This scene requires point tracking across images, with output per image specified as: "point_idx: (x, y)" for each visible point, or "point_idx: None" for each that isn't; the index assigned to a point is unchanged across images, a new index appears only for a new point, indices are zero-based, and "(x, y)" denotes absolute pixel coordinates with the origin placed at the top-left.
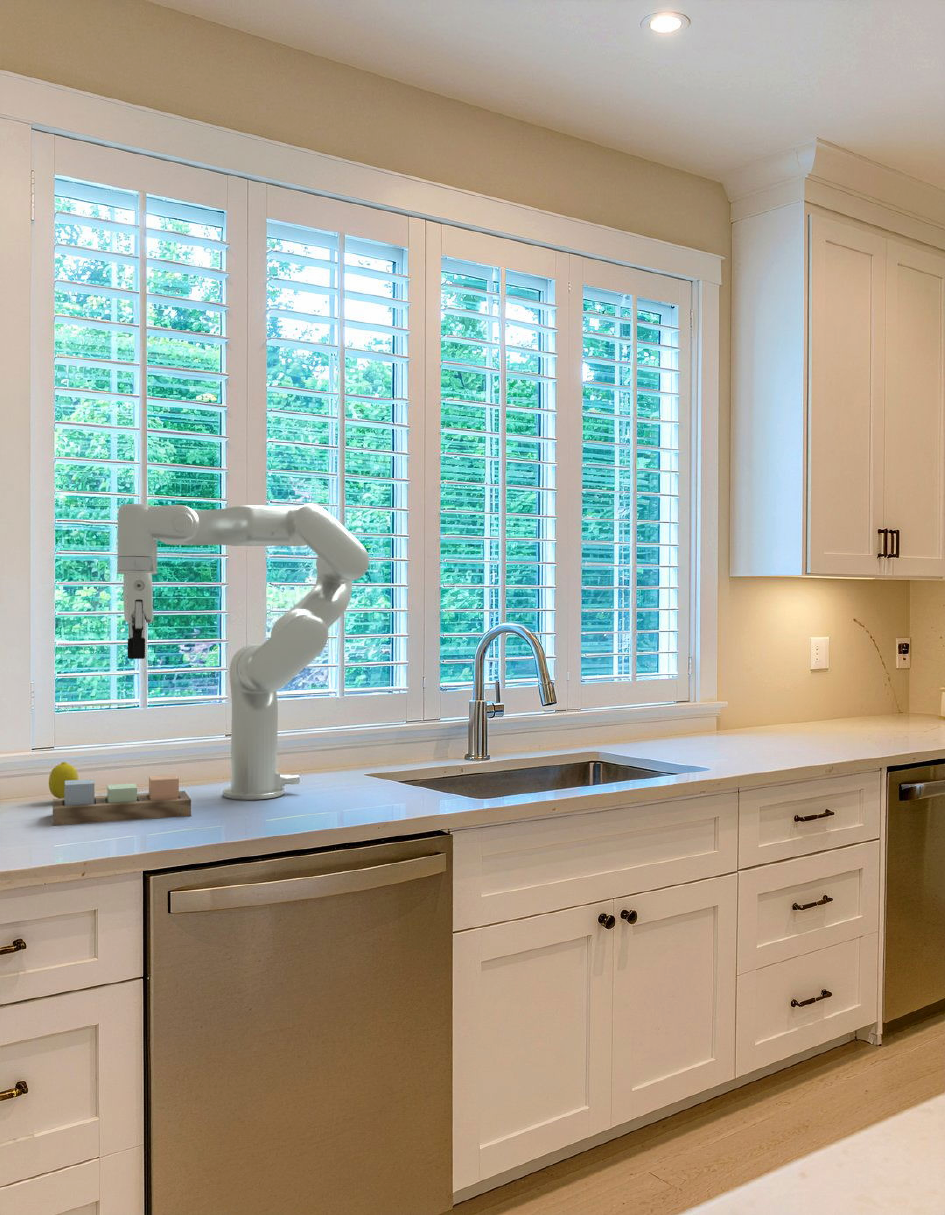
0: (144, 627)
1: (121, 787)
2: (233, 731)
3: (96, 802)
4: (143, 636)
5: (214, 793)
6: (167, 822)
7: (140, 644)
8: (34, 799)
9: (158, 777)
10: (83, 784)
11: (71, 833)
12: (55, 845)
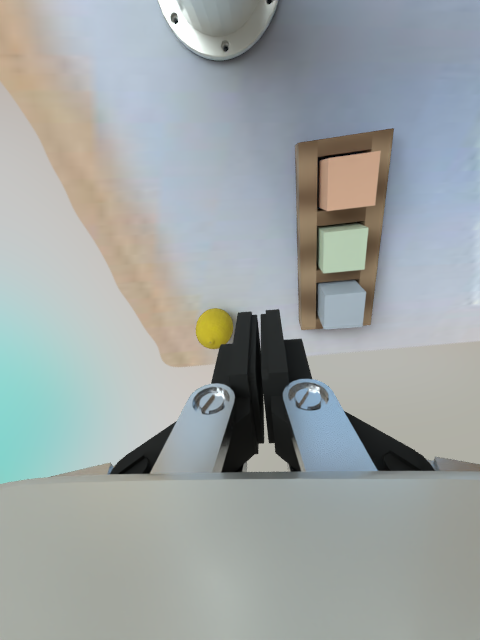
0: (370, 460)
1: (355, 252)
2: None
3: (350, 279)
4: (330, 395)
5: (185, 82)
6: (414, 173)
7: (309, 371)
8: (196, 345)
9: (349, 192)
10: (364, 305)
11: (418, 293)
12: (475, 304)
